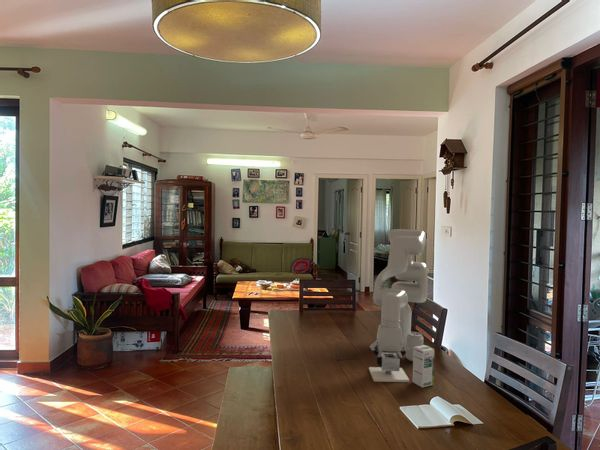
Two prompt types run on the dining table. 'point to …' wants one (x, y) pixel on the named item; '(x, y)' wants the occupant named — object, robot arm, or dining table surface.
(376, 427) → the dining table surface
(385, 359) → the grey hollow square block
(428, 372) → the syrup box
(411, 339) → the can
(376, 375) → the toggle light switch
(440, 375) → the dining table surface
